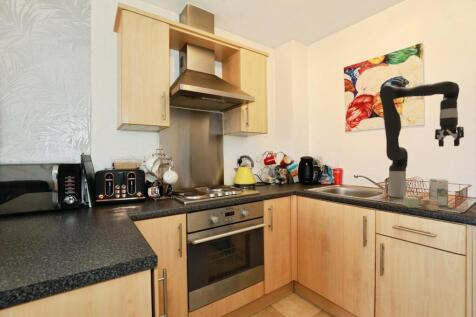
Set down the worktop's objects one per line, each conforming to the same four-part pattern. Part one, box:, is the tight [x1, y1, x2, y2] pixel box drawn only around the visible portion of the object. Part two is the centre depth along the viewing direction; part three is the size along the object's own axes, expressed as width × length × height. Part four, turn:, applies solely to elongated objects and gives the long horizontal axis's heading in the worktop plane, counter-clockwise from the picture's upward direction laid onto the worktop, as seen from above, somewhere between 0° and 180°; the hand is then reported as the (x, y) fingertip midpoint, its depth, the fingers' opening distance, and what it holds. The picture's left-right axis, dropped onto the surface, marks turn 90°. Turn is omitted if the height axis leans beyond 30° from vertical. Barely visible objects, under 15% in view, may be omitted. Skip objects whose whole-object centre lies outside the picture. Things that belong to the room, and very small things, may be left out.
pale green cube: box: [407, 194, 424, 206], centre depth 129 cm, size 5×5×5 cm
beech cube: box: [420, 198, 440, 212], centre depth 117 cm, size 5×5×5 cm
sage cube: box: [402, 196, 420, 208], centre depth 124 cm, size 5×5×5 cm
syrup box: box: [428, 178, 449, 207], centre depth 126 cm, size 6×6×14 cm
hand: (448, 146), depth 127 cm, fingers open, 8 cm apart
